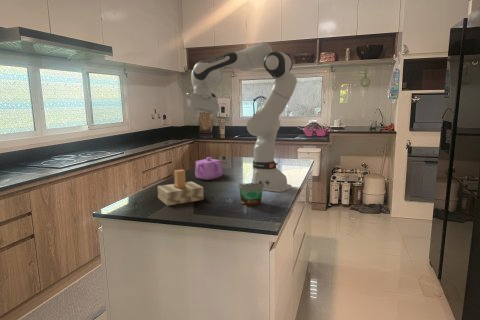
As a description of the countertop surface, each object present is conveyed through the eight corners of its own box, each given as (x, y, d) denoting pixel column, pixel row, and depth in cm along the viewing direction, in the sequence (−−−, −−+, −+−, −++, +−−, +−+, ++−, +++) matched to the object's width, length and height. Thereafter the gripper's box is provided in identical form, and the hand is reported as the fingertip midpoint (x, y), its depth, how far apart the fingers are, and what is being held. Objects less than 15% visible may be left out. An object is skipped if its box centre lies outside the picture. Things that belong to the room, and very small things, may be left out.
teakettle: (195, 180, 199) (195, 160, 197) (194, 174, 216) (194, 155, 213) (224, 179, 202) (223, 159, 200) (221, 173, 218) (221, 154, 216)
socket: (192, 192, 173) (192, 181, 172) (203, 199, 161) (203, 187, 160) (158, 197, 164) (157, 186, 163) (167, 205, 152) (166, 192, 151)
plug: (183, 197, 165) (182, 169, 163) (186, 199, 162) (185, 170, 159) (175, 198, 163) (174, 170, 161) (178, 200, 160) (177, 171, 157)
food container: (241, 208, 148) (241, 186, 146) (237, 204, 154) (237, 182, 152) (267, 205, 151) (268, 184, 150) (263, 201, 157) (263, 181, 155)
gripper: (190, 89, 180) (194, 112, 176) (218, 96, 194) (222, 118, 190) (183, 94, 184) (187, 117, 180) (211, 100, 198) (215, 122, 195)
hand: (205, 117), depth 185 cm, fingers open, 8 cm apart
